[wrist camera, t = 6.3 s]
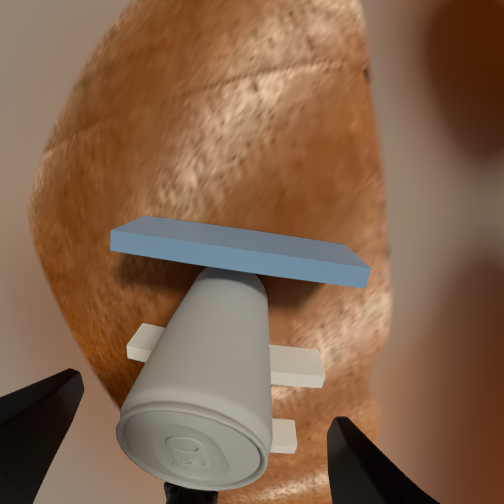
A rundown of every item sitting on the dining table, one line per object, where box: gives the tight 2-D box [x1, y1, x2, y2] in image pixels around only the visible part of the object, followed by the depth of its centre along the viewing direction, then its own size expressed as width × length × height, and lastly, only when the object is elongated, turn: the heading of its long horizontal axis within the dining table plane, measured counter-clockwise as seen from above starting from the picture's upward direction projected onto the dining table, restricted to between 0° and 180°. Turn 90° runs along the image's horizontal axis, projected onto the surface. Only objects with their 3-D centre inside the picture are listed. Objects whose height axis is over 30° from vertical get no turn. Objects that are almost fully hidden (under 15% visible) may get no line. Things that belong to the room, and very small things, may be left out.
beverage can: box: [116, 267, 273, 491], centre depth 12 cm, size 5×5×12 cm
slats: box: [111, 216, 371, 453], centre depth 17 cm, size 16×12×4 cm
